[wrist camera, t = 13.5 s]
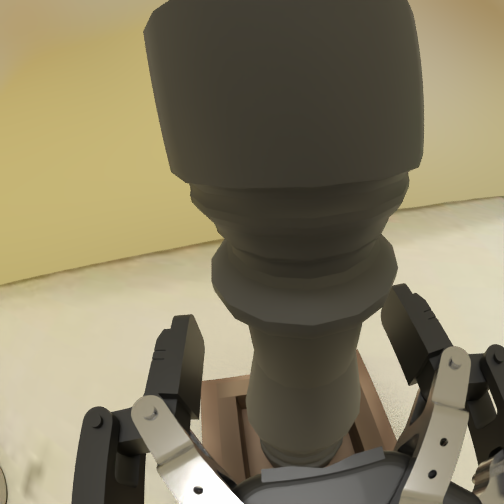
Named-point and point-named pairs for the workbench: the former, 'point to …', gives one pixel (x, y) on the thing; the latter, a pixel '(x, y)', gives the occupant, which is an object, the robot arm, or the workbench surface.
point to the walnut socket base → (248, 442)
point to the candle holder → (294, 185)
